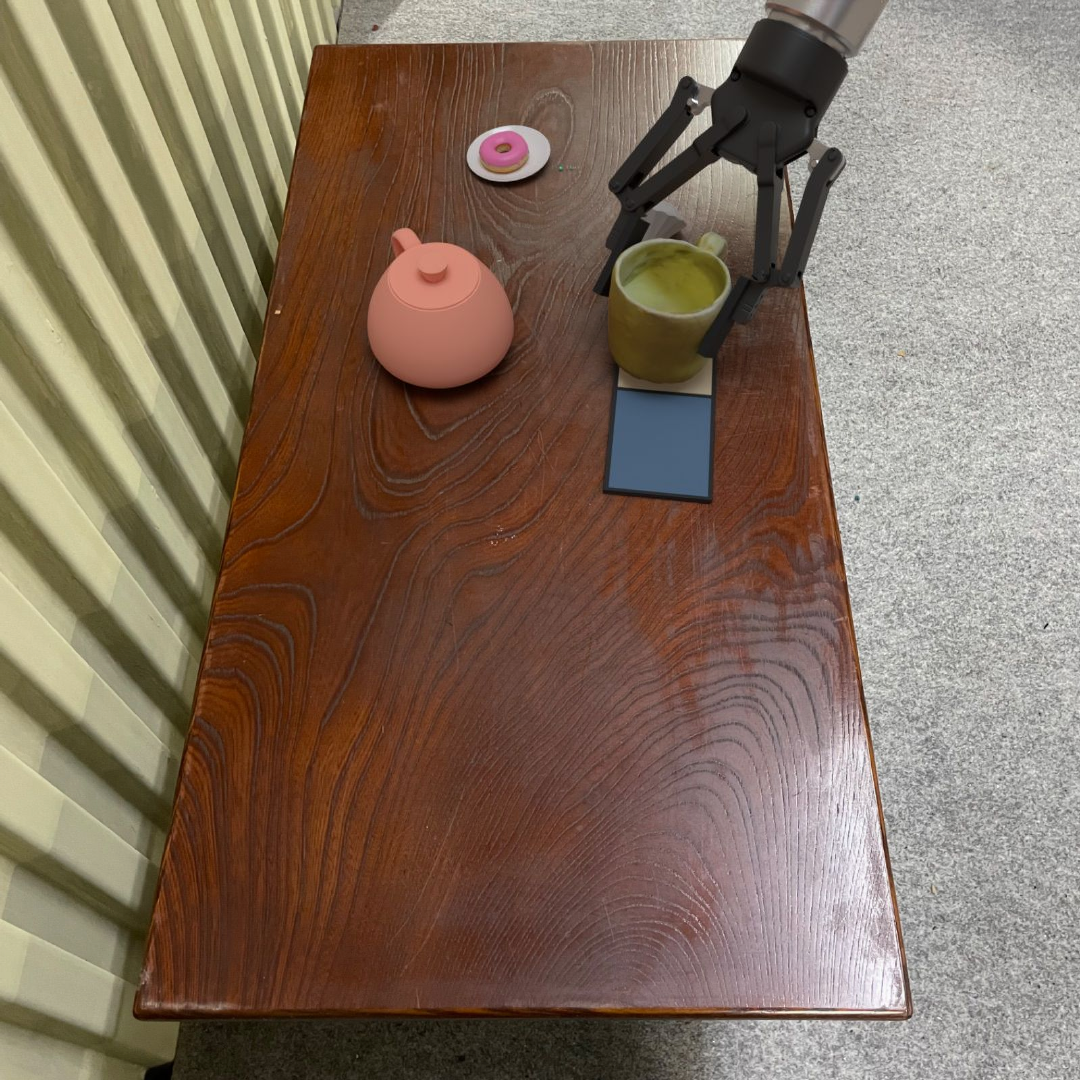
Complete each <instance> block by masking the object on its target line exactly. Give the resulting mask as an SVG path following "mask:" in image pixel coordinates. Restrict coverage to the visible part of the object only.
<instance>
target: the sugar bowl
mask: <svg viewBox="0 0 1080 1080" xmlns="http://www.w3.org/2000/svg"><path fill="white" fill-rule="evenodd" d="M391 245H392V249H393V253H394V255H395V259H394V260H393V261H392V262H391V263H390V264H389V266H388V267H387V268H386V269H385V271H384V272H383V274H382V275H381V277H380V278H379V281H378V282H377V284H376V286H375V287H374V289H373V292H372V295H371V298H370V301H369V306H368V309H367V310H368V311H367V321H366V322H367V323H366V324H367V325H366V326H367V327H366V328H367V337H368V342H369V346H370V349H371V351H372V353H373V355H374V357H375V358H376V360H377V361H378V362H379V364H381V365H382V367H383V368H384V369H385V370H386V371H387V372H389V373H390V374H391V375H392V376H394V377H396V378H397V379H398V380H400V381H403V382H404V383H407V384H410V385H414V386H417V387H420V388H421V387H422V388H426V389H450V388H456V387H461V386H465V385H467V384H469V383H473V382H474V381H476V380H478V379H480V378H482V377H484V376H485V375H487V374H489V373H490V372H491V371H492V370H494V369H495V368H496V367H497V366H498V365H499V364H500V363H501V362H502V361H503V359H504V358H505V356H506V355H507V353H508V351H509V350H510V347H511V345H512V342H513V338H514V333H515V320H514V314H513V309H512V306H511V303H510V299H509V297H508V295H507V293H506V290H505V289H504V287H503V285H502V284H501V282H500V280H499V279H498V278H497V277H496V275H495V274H494V272H492V271H491V269H490V268H489V267H487V266H486V265H485V263H484V262H482V261H481V260H480V259H479V258H477V257H476V256H475V255H474V254H472V253H471V252H470V251H468V250H466V249H465V248H462V247H460V246H459V245H455V244H452V243H447V242H439V241H437V242H427V243H422V242H421V240H420V239H419V237H418V236H417V234H416V233H415V232H414V231H413V230H412V229H411V228H408V227H402V228H399V229H396V230H395V231H393V233H392V235H391Z"/></svg>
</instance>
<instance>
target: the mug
mask: <svg viewBox="0 0 1080 1080" xmlns="http://www.w3.org/2000/svg"><path fill="white" fill-rule="evenodd" d="M728 249H729V247H728V241H727V239H726V238H725V237H723V235H722V236H721V235H719V234H717V233H716V232H714V230H713V231H712V230H711V231H707V232H706V233H704V234H702V235H701V236H700V237H699V238H698V239H697V241H696V243H695V244H692V243H690V242H688V241H686V240H682V239H681V240H679V239H673V238H668V239H663V238H657V239H650V240H646V241H643V242H640V243H638V244H635V245H633V246H631V247H630V248H628V249H626V250H625V251H624V252H622V253H621V255H620V256H619V257H618V259H617V260H616V263H615V265H614V268H613V271H612V278H611V287H610V292H609V297H608V311H607V312H608V313H607V326H608V327H607V342H608V348H609V352H610V354H611V356H612V359H613V360H614V362H615V361H616V363H617V364H618V366H619V367H620V368H621V369H622V370H623V371H625V372H627V373H629V374H630V375H631V376H633V377H635V378H637V379H642V380H646V381H649V382H652V383H657V384H662V383H669V384H672V383H682V382H685V381H687V380H689V379H691V378H692V377H693V376H695V375H696V374H697V373H698V372H699V371H701V370H702V368H703V367H704V366H705V365H706V363H707V362H708V360H709V358H704V357H703V356H701V355H699V354H698V353H697V351H698V349H699V348H700V346H701V344H702V342H703V341H704V339H705V337H706V335H707V333H708V332H709V330H710V328H711V326H712V325H713V323H714V321H715V319H716V317H717V316H718V314H719V312H720V310H721V309H722V307H723V305H724V303H725V301H726V300H727V298H728V296H729V294H730V293H731V291H732V278H731V274H730V270H729V269H728V267H727V265H726V261H727V259H728V256H729V255H728V253H729V250H728Z"/></svg>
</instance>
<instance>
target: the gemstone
mask: <svg viewBox="0 0 1080 1080" xmlns="http://www.w3.org/2000/svg"><path fill="white" fill-rule="evenodd" d="M646 215H647V217H641V219H643V220H645V221H646V222H648V223H650V226H649V228H648V230H647V232H646V233H645V235H644V237H643V239H642V241H641V242H643V241H646V240H650V239H657V238H663V239H670V238H671V237H672V236H674V235H676V234H677V233H678V232H680V231H681V230H683V229H685V228H686V227H687V225H688V223H687V221H686V219H685V218H684V217H683V215H682V214H681V213H680V212H679V210H678V209H677V208H676V207H675V205H674V204H672V203H671V202H668V201H666V200H663V201H661V202H660V203H659V204H657V205H656V206H655V207H653V208H652V209H651V210H650V211H648V212H647V213H646Z"/></svg>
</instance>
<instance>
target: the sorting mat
mask: <svg viewBox="0 0 1080 1080" xmlns="http://www.w3.org/2000/svg"><path fill="white" fill-rule="evenodd" d="M717 367H718V354H717V355H716V357H715V359H714V358H712V388H711V395H701V394H690V393H679V392H668V391H657V390H646V389H635V388H624V387H618V379H619V368H620V367H619V366H618V364H617V363H616V361H615V360H614V372H613V380H612V381H613V382H612V393H611V401H610V402H611V404H610V413H609V422H608V423H609V425H608V433H607V445H606V456H605V465H604V475H603V487H602V493H603V494H609V495H619V496H627V497H639V498H648V499H661V500H669V501H670V500H671V501H679V502H691V503H701V504H710V505H711V504H713V501H714V472H715V471H714V470H715V469H714V467H715V435H716V433H715V432H716V405H717V404H716V403H717V401H716V400H717V369H718V368H717Z"/></svg>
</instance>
